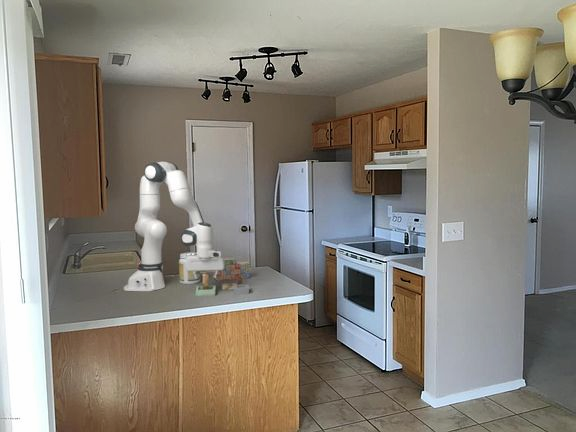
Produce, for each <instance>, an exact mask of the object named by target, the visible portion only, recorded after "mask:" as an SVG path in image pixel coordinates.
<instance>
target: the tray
mask: <svg viewBox="0 0 576 432" xmlns="http://www.w3.org/2000/svg"><path fill="white" fill-rule="evenodd" d="M216 287H217V286H216V285H215V284H214V285H213V284H211V285H210V284H209V290H203V285H197V286H196V289H195V297H208V296H209V297H212V296H213V297H214V296H216V292H217V291H216V290H217V288H216Z"/></svg>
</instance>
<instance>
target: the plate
mask: <svg viewBox="0 0 576 432" xmlns="http://www.w3.org/2000/svg"><path fill="white" fill-rule="evenodd" d="M234 285H237V282H236V283H235V282H234V283H233V282H232V283H222V284H221V290H222V291H230V290H231V289H234ZM231 291H232V290H231Z"/></svg>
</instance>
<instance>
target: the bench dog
mask: <svg viewBox="0 0 576 432" xmlns="http://www.w3.org/2000/svg"><path fill="white" fill-rule="evenodd" d="M236 283H237V285H243V278H242V277H237V279H236Z"/></svg>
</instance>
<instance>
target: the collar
mask: <svg viewBox="0 0 576 432" xmlns="http://www.w3.org/2000/svg"><path fill="white" fill-rule="evenodd" d="M233 294H234V295H239V294H242V295H243V294H244V295H245V294H250V285H249V284H242V285H234V290H233Z"/></svg>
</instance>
